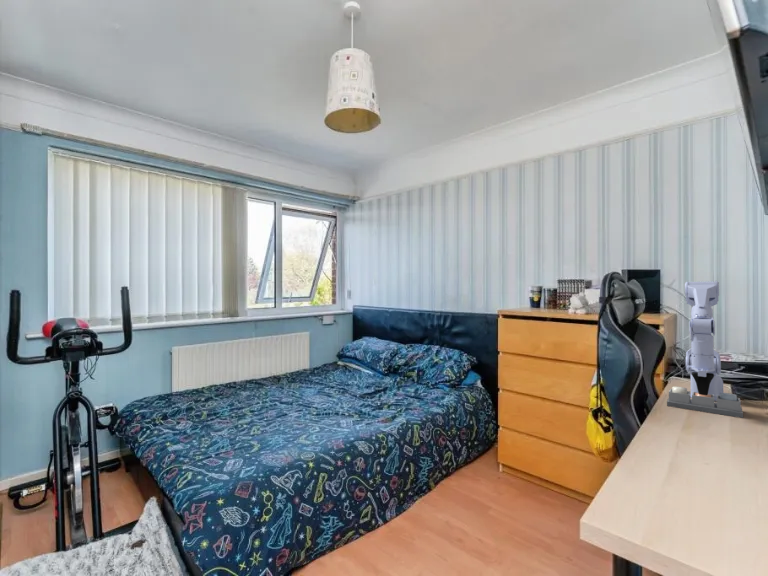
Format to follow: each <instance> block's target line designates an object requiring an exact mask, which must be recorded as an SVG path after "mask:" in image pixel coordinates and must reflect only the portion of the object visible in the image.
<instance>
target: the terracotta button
mask: <svg viewBox="0 0 768 576" xmlns="http://www.w3.org/2000/svg"><path fill="white" fill-rule="evenodd" d="M695 395H696V396H703V397H710V398H711V395H710V394H707V395H701V394H699V393H695Z"/></svg>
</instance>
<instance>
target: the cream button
mask: <svg viewBox="0 0 768 576" xmlns="http://www.w3.org/2000/svg"><path fill="white" fill-rule="evenodd" d="M671 389H672V392H674V393H681V394H687V391H688V388H686V387H683V386H672V387H671Z"/></svg>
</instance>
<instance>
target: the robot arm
mask: <svg viewBox="0 0 768 576" xmlns="http://www.w3.org/2000/svg"><path fill="white" fill-rule="evenodd" d="M719 285H720V282H719V281H717V280H714V281H713V280H711V281H709V280H706V281H703V280H702V281H689V280H688V281H686V282H684V295H685V302H686V304H688V305H689V306H691V311H690V313H691V315H690V320H689V321H688V325H689V327H688V329H689V335H690V341H691V342H690V346H691V347H690V349H688V350H687V351H686V352H685V371H687V372H689V374H690V395H691V399H692V393H693V392H698V393H699V394H701V395H707V394H712V395H714V402H717V395H720V393H724V380H723V379H722V377H721V376H719V375H721V373H722V361H721V355H720V353H719V352H718V351H716V350H715V348H714V343H715V342H714V336H715V335H716V322H715V319H714V316H713V315H714V314H713V313H714V312H713V308H712V307H713V306H715V305H718V303H719V296H720V286H719ZM712 334H713V335H712Z"/></svg>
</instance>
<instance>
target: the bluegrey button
mask: <svg viewBox="0 0 768 576" xmlns="http://www.w3.org/2000/svg"><path fill="white" fill-rule="evenodd" d="M737 398H738V395H737V394H735V393H728V392H723V393H720V399H724V400H732V401H737Z"/></svg>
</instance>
